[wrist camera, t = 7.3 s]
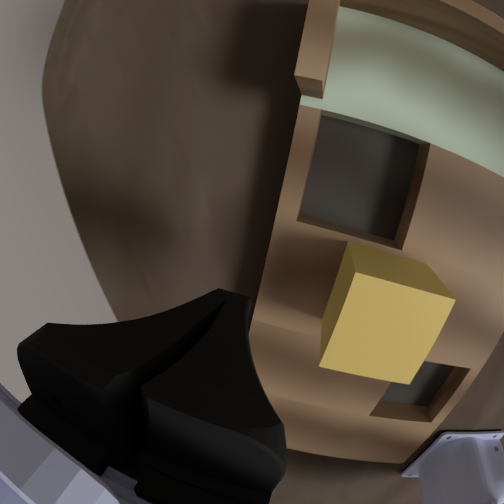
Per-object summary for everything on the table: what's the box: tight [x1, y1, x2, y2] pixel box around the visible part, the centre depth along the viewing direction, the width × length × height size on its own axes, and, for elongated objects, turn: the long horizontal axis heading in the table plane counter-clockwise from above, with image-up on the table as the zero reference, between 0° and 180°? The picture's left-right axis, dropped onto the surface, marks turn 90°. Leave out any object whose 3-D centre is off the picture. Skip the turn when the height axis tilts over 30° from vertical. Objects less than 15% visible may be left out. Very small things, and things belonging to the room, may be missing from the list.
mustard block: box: [319, 242, 456, 384], centre depth 12 cm, size 4×4×4 cm
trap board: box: [249, 0, 504, 463], centre depth 13 cm, size 30×16×6 cm, turn 169°
